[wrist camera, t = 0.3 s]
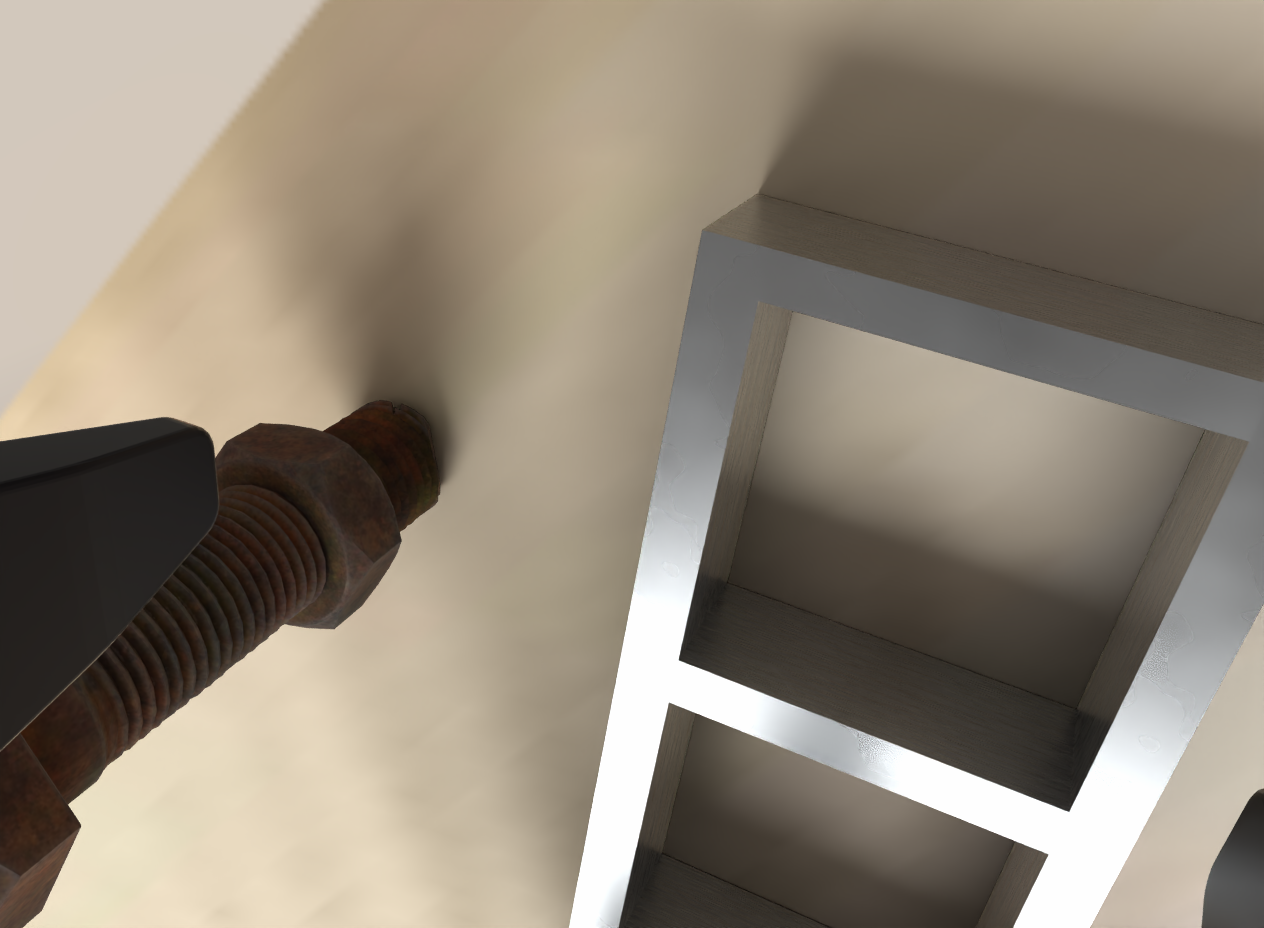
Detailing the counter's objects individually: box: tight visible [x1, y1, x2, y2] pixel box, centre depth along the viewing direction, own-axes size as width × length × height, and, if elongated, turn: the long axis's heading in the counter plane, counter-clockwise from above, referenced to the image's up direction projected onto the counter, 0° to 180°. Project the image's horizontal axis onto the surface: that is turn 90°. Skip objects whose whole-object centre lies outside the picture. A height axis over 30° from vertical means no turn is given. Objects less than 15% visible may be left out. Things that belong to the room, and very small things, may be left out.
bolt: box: [0, 400, 440, 928], centre depth 23 cm, size 6×5×15 cm
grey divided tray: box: [569, 194, 1264, 928], centre depth 24 cm, size 20×11×4 cm, turn 171°
